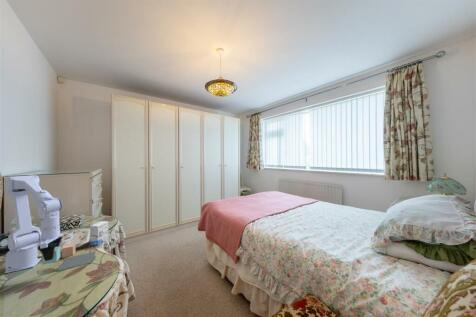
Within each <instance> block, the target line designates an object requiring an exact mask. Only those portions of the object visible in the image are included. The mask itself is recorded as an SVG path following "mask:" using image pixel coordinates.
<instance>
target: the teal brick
mask: <svg viewBox="0 0 476 317" xmlns="http://www.w3.org/2000/svg"><path fill="white" fill-rule="evenodd" d="M60 258H62V255H61V245H59V246H58V247H55V249H54V255H53V259H52V260H48V261H45V259H44V257H43V254H42V253H41V265H42V266H44V265H48V264H53V263H57V262H58V261H59V260H60Z"/></svg>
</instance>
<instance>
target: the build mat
mask: <svg viewBox="0 0 476 317" xmlns="http://www.w3.org/2000/svg"><path fill="white" fill-rule="evenodd" d="M95 254H96V251H91V252H87V253H84V254H78V255H73V256H69V257H65V259H64V261H63V262H62V264H61V265H60V266H59V268H58V270H57V272H59V271H60V272H61V271H64V270H68V269H72V268H76V267H80V266H85V265H89V264H91V263H92V262H93V258H94V256H95Z"/></svg>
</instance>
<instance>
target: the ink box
mask: <svg viewBox="0 0 476 317" xmlns="http://www.w3.org/2000/svg"><path fill="white" fill-rule="evenodd" d="M107 240H109V220H106V221H105V220H101V221H98V222H95V223H93V224H91V225H90V227H89V246H99V245H101V244H103V243H104V242H106V241H107Z"/></svg>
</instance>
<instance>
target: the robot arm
mask: <svg viewBox="0 0 476 317" xmlns="http://www.w3.org/2000/svg"><path fill="white" fill-rule="evenodd" d="M40 182H41V181H40V177H39V176H38V175H36V174H32V175H30V174H29V175H21V176H20V175H19V176H16V175H15V176H7V177H6V178H5V179H4V190H5V195H6V196H7V195H8V196H11V199H12V204H13V213H14V219H15V226H16V228H15V229H14V230H13V231H12V232H11V233H9V234H8V237H7V247H8V249H9V251H7V253H6V255H5V257H4V258H5V259H4V261H5V262H4V263H5V264H4V266H5V271H4V274H8V273H12V272H17V271H22V270H26V269H30V268H34V267H36V265H37V264H38V263H40V261H42V257H39V258H38V251H39V252H40V253H41V255H42V254H43V257H44V259H45V261H48V260H52V259H53V255H54V249H55V247H58V246H60V244H61V242H62V239H63V237H64V233H61V228H60V227H61V226H60V225H61V224H60V211H62V209H63V201H62V200H61V198H59V197H58V198H57V197H53V196H52V195H51V193H50V192H48V190H46V189H42V188H41V186H40ZM29 194H30V195H31V196H30V200H31V201H32V202H33V203H34V204H35V205H36V211H37V213H38V217H39V219H40V227H38V226H34V225H33V224H32V217H31V210H30V204H29V197H28V195H29Z"/></svg>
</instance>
